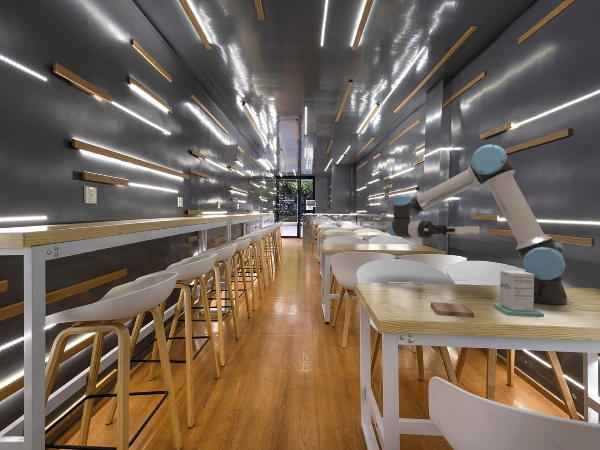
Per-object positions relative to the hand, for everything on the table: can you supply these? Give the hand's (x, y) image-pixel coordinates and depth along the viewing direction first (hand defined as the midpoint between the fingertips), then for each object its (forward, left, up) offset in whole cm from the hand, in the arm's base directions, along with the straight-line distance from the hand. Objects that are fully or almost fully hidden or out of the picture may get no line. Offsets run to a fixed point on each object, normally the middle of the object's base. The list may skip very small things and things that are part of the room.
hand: (472, 230), depth 125 cm
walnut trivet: (+13, +17, -28) cm, 35 cm away
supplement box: (-9, +14, -26) cm, 31 cm away
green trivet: (-10, +14, -28) cm, 33 cm away
